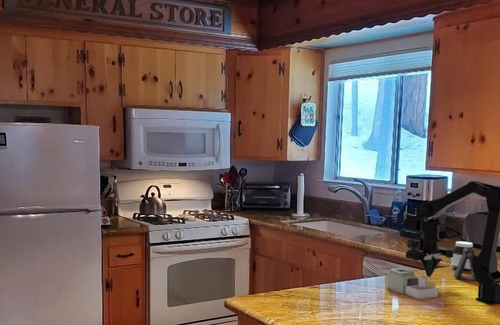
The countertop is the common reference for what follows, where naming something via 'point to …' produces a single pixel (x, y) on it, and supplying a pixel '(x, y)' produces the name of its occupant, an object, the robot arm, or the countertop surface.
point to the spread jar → (459, 252)
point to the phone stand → (462, 264)
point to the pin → (422, 283)
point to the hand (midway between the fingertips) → (428, 276)
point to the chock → (431, 283)
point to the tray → (421, 292)
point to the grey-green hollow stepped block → (401, 279)
